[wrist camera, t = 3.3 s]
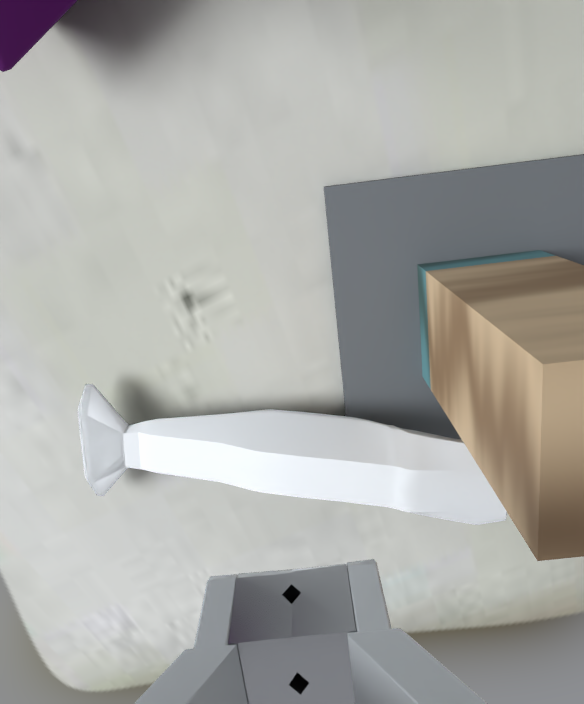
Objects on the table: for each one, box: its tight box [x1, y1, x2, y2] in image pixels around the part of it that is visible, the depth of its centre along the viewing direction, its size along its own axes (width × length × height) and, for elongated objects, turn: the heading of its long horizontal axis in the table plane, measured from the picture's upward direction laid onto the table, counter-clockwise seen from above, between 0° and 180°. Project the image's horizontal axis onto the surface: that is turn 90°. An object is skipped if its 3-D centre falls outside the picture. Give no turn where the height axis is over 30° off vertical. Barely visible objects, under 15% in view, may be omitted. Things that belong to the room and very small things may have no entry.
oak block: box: [417, 250, 584, 561], centre depth 18 cm, size 5×5×12 cm
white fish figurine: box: [78, 384, 507, 525], centre depth 24 cm, size 6×18×4 cm, turn 89°
